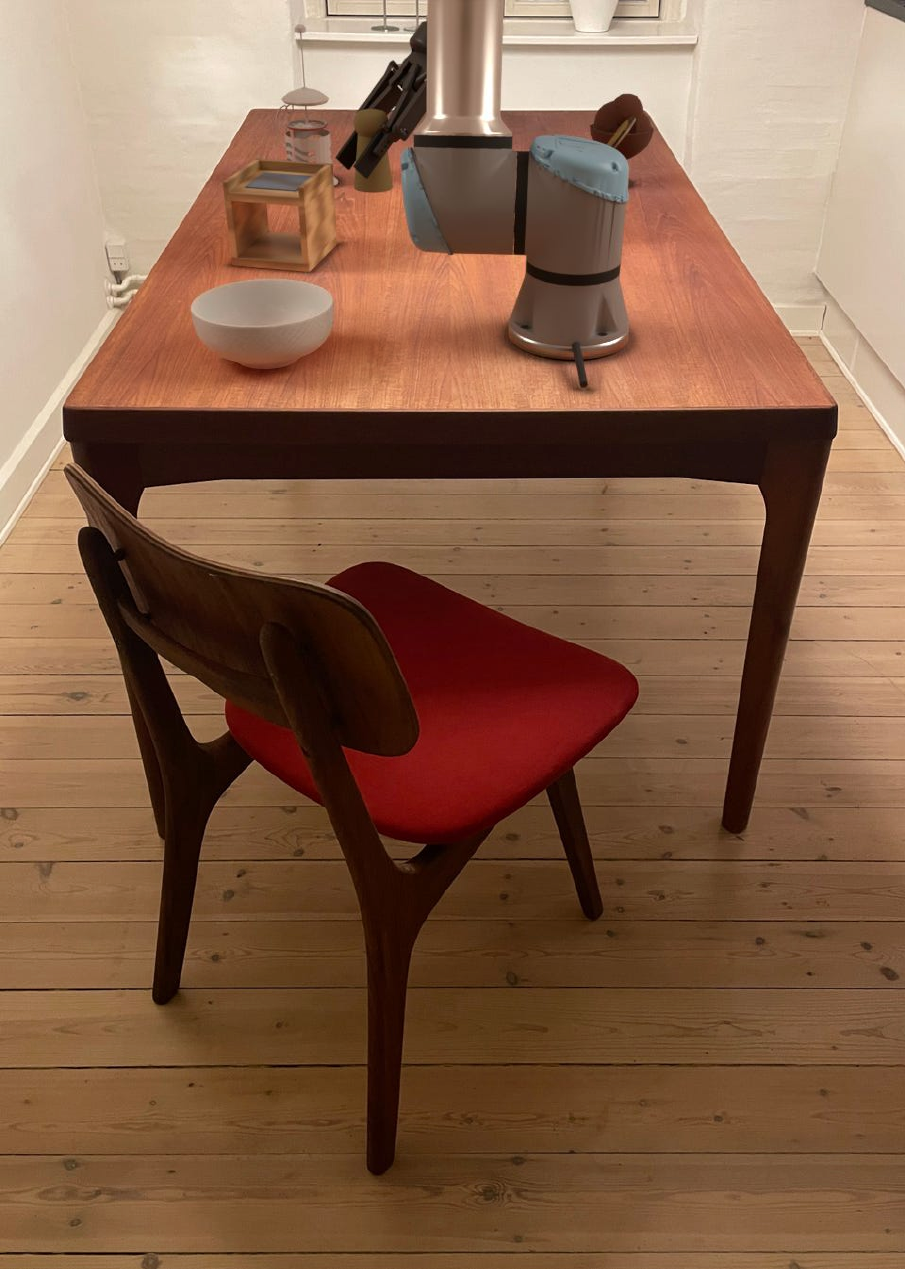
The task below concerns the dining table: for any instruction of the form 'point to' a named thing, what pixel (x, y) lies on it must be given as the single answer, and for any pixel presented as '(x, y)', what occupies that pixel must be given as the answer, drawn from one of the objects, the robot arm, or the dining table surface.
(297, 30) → the french press
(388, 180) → the olive pawn piece
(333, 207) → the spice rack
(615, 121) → the ice cream bowl
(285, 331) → the cereal bowl
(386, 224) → the dining table surface
